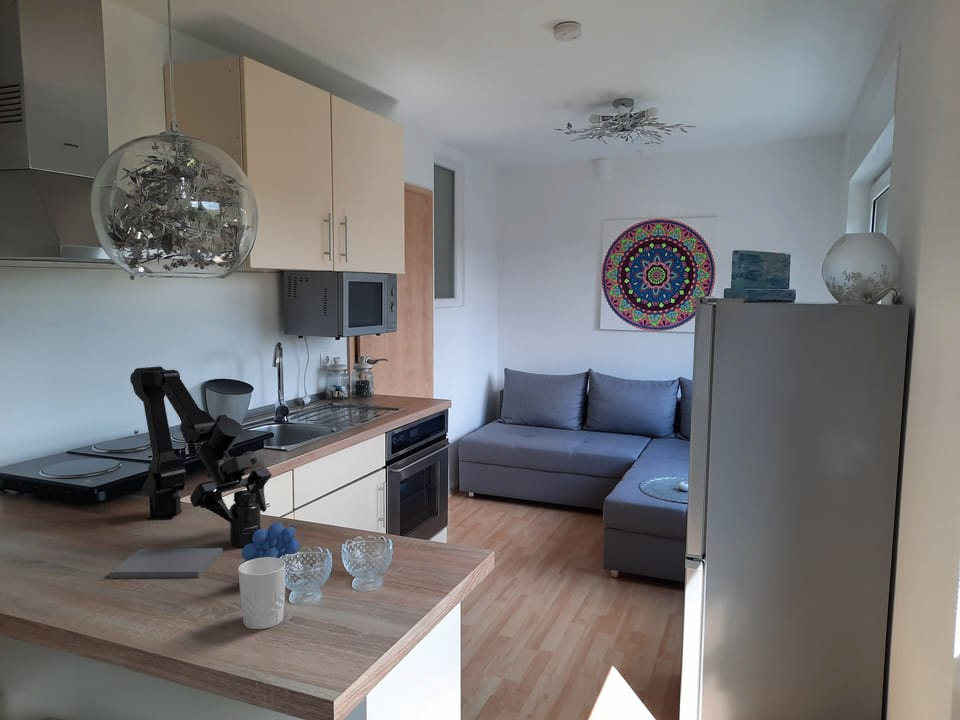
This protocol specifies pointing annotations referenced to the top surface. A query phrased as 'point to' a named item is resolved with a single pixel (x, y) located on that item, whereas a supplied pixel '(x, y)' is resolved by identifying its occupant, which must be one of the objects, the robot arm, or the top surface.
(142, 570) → the board
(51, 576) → the top surface
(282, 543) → the grapes
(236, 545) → the supplement bottle
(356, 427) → the top surface
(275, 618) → the white cup
